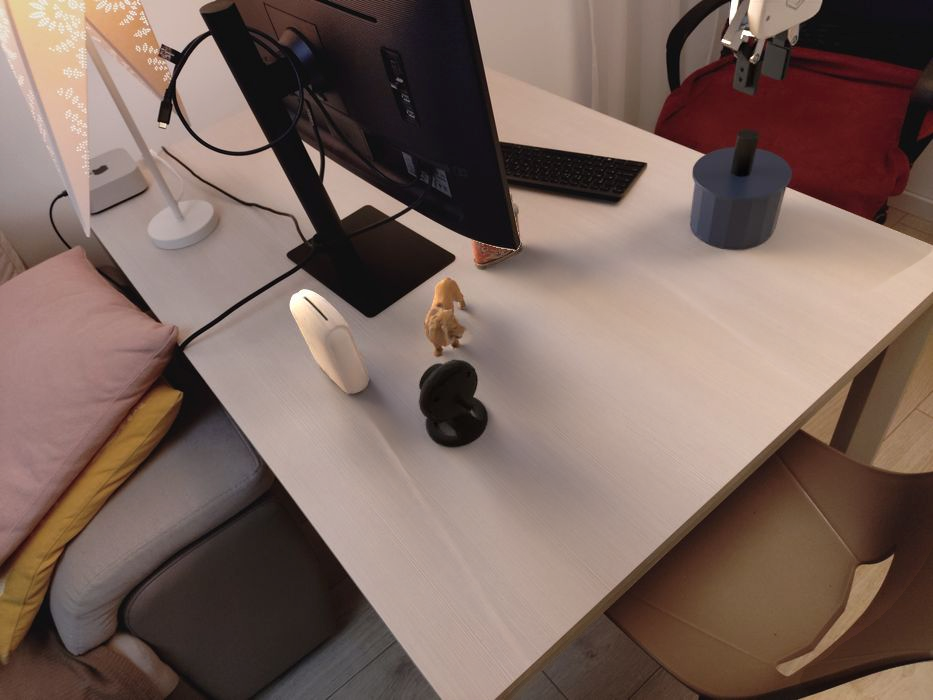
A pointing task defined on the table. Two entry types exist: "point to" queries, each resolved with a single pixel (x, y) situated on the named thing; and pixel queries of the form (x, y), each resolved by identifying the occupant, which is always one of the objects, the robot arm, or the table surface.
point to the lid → (742, 171)
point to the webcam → (452, 403)
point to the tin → (733, 220)
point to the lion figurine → (444, 317)
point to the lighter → (494, 250)
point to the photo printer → (330, 341)
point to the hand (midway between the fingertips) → (758, 82)
